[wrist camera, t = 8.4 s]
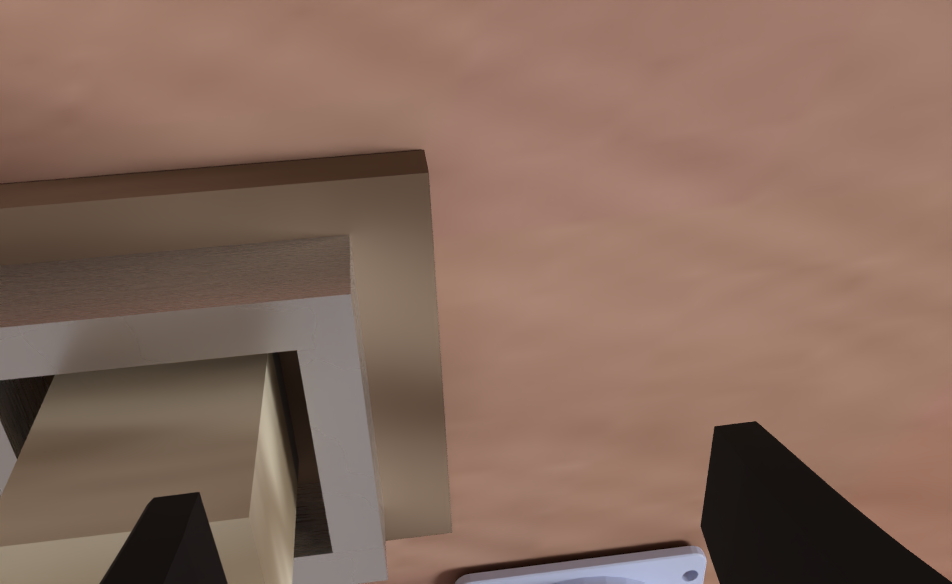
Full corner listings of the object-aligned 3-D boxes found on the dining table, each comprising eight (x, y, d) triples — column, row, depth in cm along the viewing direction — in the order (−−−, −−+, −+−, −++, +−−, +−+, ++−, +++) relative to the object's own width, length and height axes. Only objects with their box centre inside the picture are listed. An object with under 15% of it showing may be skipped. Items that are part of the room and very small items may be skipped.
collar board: (447, 501, 25) (462, 604, 22) (18, 552, 24) (-27, 668, 21) (424, 149, 19) (439, 226, 16) (-149, 196, 18) (-245, 287, 15)
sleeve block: (299, 460, 22) (287, 673, 17) (120, 480, 22) (55, 705, 17) (271, 318, 20) (249, 517, 15) (71, 337, 19) (-24, 549, 14)
